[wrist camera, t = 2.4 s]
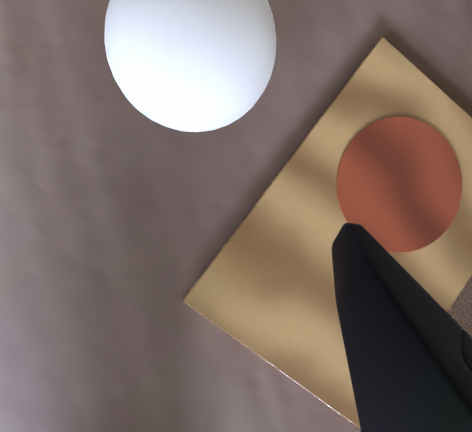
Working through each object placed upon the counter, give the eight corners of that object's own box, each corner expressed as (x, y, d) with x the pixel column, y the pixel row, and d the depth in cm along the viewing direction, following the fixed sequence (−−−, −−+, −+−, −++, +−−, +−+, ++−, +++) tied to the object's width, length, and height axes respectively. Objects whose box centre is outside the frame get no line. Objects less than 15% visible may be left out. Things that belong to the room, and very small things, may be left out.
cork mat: (361, 428, 23) (366, 434, 23) (182, 299, 21) (182, 301, 21) (531, 178, 25) (540, 177, 24) (378, 40, 23) (383, 35, 23)
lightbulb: (163, 178, 21) (145, 141, 10) (114, 79, 21) (43, -68, 10) (257, 134, 22) (332, 58, 11) (212, 39, 22) (245, -139, 11)
